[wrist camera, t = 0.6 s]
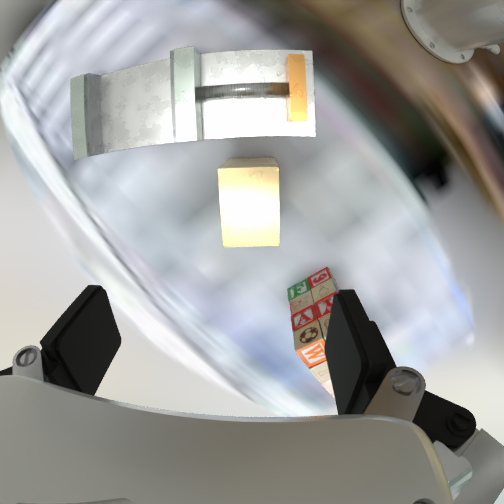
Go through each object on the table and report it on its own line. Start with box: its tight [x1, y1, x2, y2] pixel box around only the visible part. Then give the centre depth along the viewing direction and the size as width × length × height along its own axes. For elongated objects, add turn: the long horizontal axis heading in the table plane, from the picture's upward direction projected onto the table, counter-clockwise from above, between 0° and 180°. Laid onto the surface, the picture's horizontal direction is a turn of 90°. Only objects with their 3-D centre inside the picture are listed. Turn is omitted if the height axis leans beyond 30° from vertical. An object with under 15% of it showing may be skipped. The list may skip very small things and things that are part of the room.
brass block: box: [218, 157, 279, 247], centre depth 28 cm, size 5×7×9 cm
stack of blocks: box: [288, 267, 339, 399], centre depth 35 cm, size 21×6×12 cm, turn 33°
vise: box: [71, 50, 315, 160], centre depth 26 cm, size 27×10×4 cm, turn 92°
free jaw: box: [170, 46, 307, 143], centre depth 25 cm, size 13×10×3 cm
